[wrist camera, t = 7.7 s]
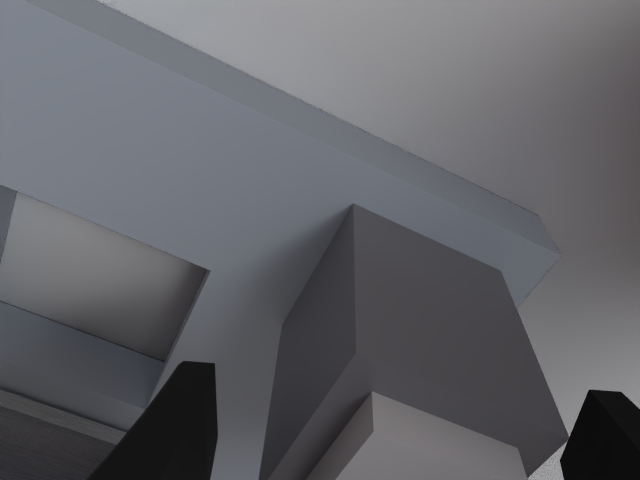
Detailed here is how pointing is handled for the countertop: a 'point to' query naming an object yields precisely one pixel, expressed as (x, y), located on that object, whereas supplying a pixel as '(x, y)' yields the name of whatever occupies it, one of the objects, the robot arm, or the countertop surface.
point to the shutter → (49, 441)
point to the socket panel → (203, 207)
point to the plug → (405, 368)
